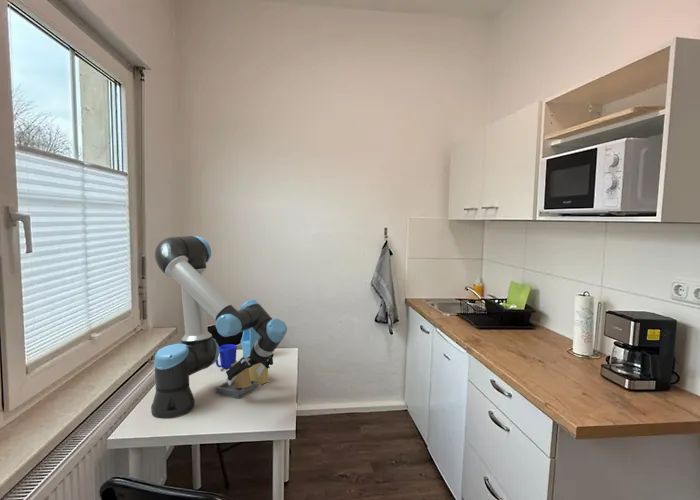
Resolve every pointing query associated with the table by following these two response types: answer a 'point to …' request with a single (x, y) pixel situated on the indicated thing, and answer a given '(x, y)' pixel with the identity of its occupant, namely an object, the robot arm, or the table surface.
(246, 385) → the stub
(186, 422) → the table surface
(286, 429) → the table surface
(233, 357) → the mug
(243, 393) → the tray
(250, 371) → the grey-ended yellow block
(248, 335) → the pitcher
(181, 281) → the robot arm
